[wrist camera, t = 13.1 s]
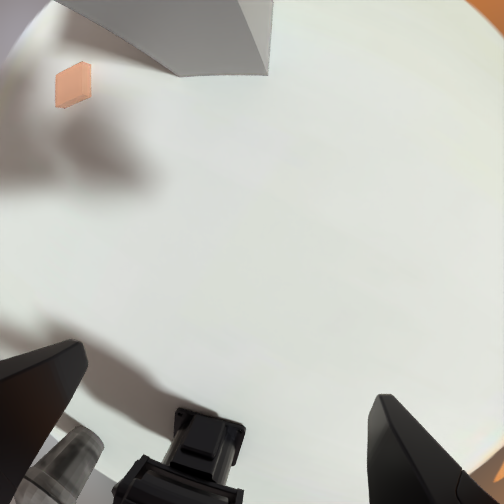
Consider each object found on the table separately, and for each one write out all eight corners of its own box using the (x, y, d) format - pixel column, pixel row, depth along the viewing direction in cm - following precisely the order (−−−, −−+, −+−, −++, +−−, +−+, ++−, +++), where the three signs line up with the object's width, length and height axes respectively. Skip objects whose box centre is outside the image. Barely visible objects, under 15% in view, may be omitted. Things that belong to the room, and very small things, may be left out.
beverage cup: (62, 428, 31) (-16, 518, 12) (74, 409, 29) (-20, 516, 9) (103, 462, 31) (37, 561, 12) (121, 448, 29) (44, 566, 10)
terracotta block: (93, 97, 20) (82, 94, 18) (67, 108, 20) (55, 107, 19) (93, 65, 19) (82, 61, 18) (66, 78, 20) (55, 75, 18)
